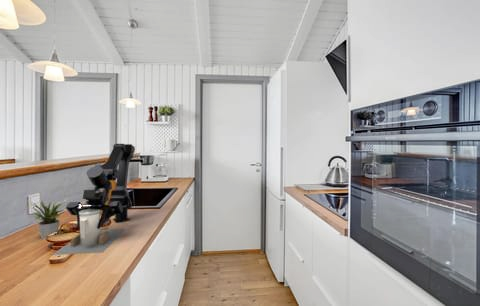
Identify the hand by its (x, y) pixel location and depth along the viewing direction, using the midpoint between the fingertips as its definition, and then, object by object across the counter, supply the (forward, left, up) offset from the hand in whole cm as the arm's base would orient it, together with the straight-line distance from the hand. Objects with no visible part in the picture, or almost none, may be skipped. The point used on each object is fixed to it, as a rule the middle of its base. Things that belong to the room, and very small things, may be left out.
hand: (88, 228), depth 90 cm
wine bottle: (-45, +16, -7) cm, 48 cm away
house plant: (-22, -12, -7) cm, 26 cm away
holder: (-4, +2, -7) cm, 8 cm away
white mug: (-1, +1, -6) cm, 6 cm away
